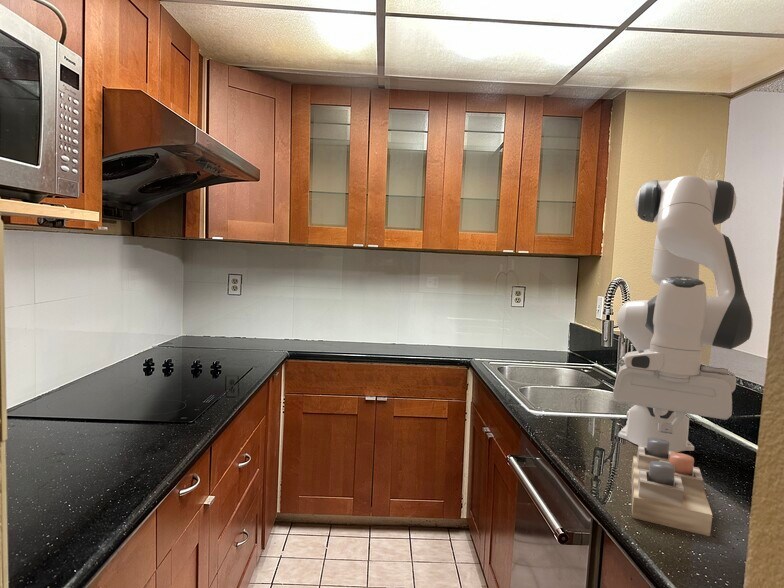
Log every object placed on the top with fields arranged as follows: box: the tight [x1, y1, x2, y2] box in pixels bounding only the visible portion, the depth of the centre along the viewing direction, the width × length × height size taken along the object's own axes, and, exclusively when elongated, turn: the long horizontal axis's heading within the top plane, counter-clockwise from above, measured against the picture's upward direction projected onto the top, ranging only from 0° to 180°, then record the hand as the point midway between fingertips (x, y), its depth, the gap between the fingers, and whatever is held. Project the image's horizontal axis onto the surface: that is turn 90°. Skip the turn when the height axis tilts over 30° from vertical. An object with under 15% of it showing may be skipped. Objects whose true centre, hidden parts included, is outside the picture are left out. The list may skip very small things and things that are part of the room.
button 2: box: [648, 461, 675, 485], centre depth 105 cm, size 4×4×3 cm
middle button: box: [669, 452, 695, 475], centre depth 110 cm, size 4×4×3 cm
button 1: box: [646, 438, 670, 458], centre depth 119 cm, size 4×4×3 cm
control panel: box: [631, 445, 713, 537], centre depth 111 cm, size 25×13×7 cm, turn 156°
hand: (666, 432), depth 104 cm, fingers closed
